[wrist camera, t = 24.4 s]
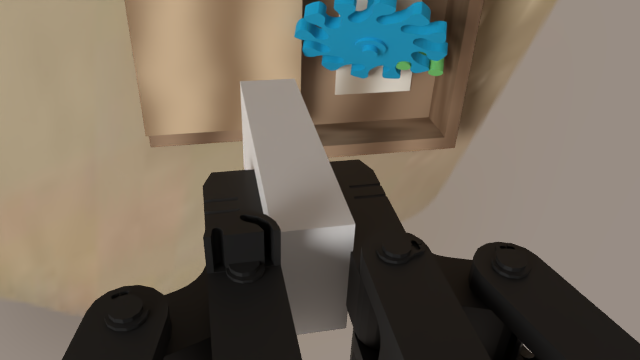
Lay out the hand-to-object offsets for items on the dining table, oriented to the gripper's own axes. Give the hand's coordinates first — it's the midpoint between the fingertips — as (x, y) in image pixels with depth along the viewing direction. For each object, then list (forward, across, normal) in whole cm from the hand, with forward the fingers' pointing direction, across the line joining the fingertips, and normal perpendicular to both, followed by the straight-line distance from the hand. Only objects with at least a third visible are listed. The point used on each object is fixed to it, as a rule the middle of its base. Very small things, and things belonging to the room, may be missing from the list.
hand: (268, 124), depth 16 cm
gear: (+24, +10, -5) cm, 26 cm away
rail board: (+24, +6, -6) cm, 26 cm away
